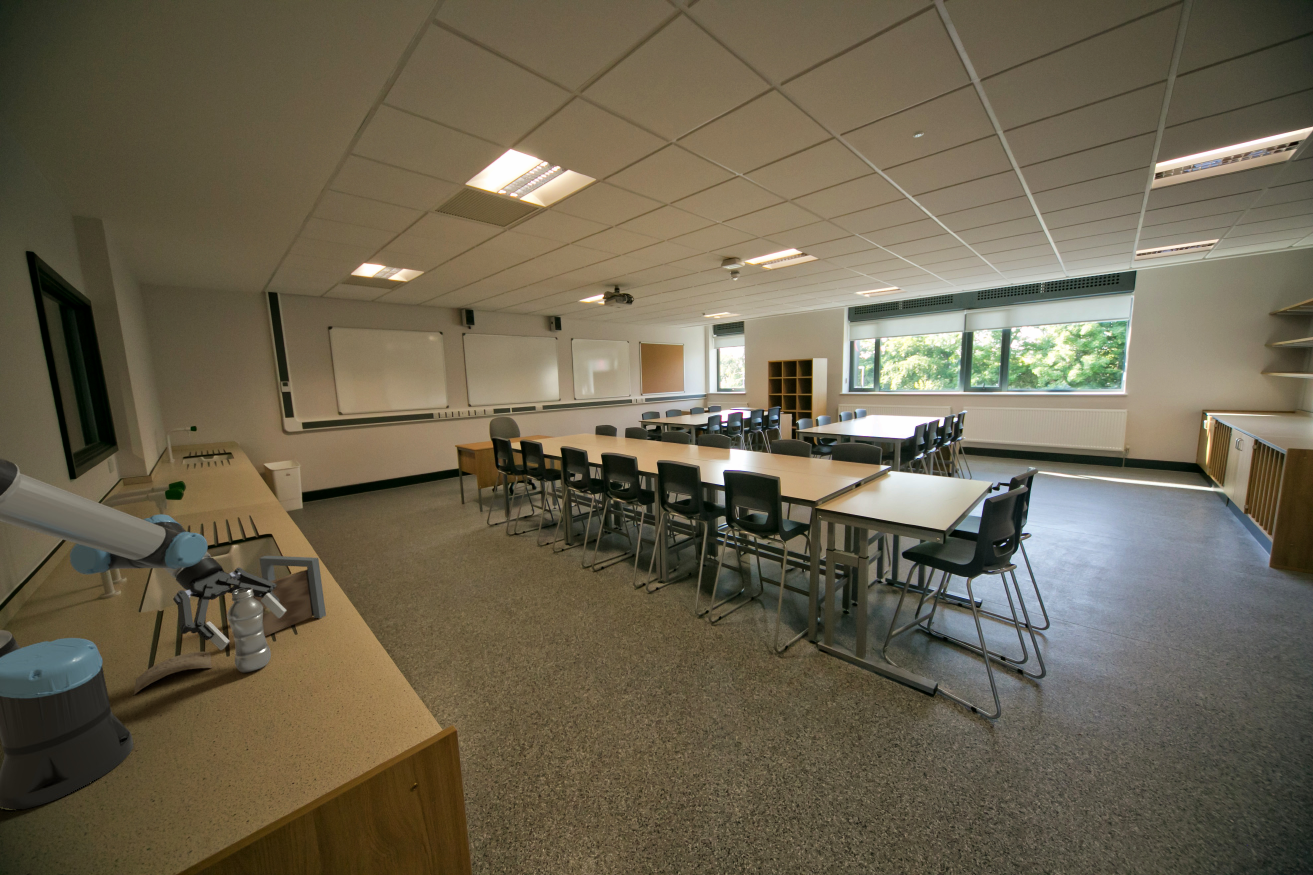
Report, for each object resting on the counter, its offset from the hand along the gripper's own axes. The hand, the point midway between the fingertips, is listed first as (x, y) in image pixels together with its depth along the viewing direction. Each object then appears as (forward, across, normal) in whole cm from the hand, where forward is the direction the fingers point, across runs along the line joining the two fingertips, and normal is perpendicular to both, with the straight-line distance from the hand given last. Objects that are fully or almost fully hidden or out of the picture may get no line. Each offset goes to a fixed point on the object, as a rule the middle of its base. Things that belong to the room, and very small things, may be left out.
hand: (255, 629), depth 109 cm
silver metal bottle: (+6, 0, -8) cm, 10 cm away
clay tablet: (-6, +4, -22) cm, 23 cm away
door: (0, -17, -14) cm, 22 cm away
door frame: (-3, -23, -17) cm, 29 cm away
